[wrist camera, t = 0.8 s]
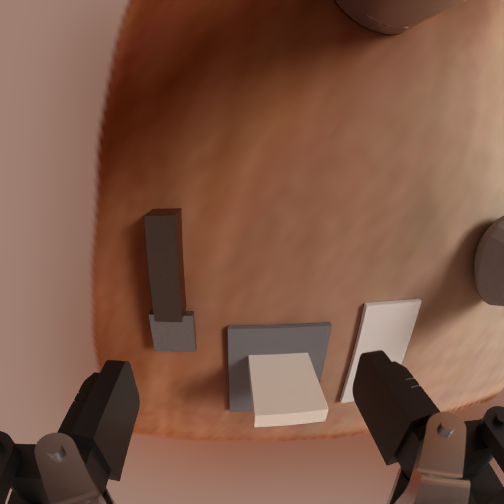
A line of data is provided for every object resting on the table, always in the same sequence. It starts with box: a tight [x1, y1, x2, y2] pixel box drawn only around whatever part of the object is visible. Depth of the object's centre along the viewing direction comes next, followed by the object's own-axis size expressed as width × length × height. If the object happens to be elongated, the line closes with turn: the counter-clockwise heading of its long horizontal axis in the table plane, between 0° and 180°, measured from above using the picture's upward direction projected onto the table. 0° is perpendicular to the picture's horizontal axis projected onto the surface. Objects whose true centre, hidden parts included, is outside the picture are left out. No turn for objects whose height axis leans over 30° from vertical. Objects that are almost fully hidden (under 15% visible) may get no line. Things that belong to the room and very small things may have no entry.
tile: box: [248, 353, 329, 427], centre depth 25 cm, size 2×6×8 cm, turn 88°
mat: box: [228, 322, 331, 412], centre depth 30 cm, size 12×10×1 cm
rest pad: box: [340, 299, 421, 403], centre depth 30 cm, size 14×7×1 cm, turn 178°
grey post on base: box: [144, 208, 197, 352], centre depth 25 cm, size 13×4×3 cm, turn 178°
